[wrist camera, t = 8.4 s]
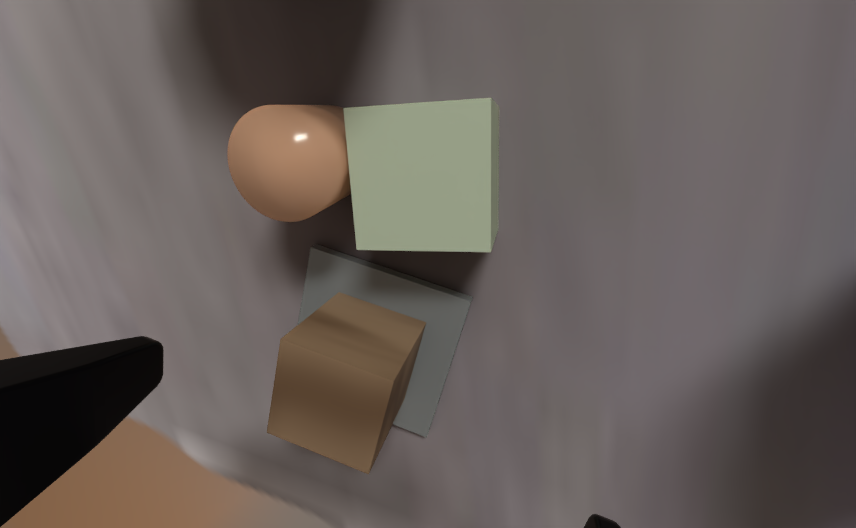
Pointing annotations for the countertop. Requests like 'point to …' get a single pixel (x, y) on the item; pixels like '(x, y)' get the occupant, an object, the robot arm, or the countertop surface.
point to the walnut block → (344, 379)
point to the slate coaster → (402, 296)
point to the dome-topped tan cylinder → (290, 159)
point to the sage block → (424, 175)
